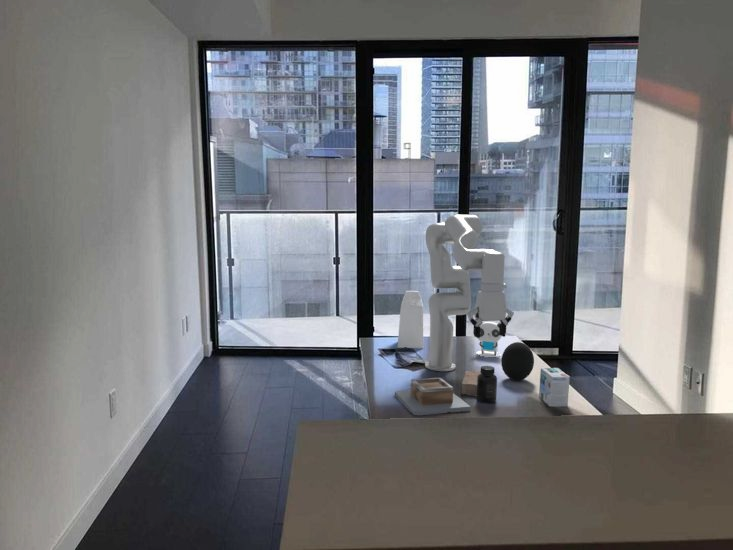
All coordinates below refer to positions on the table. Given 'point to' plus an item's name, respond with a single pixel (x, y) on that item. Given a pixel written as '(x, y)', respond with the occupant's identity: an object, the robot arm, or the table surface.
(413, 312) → the milk
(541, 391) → the light bulb box
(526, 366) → the decorative egg
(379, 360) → the table surface
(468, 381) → the brick
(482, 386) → the supplement bottle
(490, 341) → the panda figurine
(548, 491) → the table surface
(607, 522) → the table surface
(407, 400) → the baseplate
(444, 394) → the plinth
